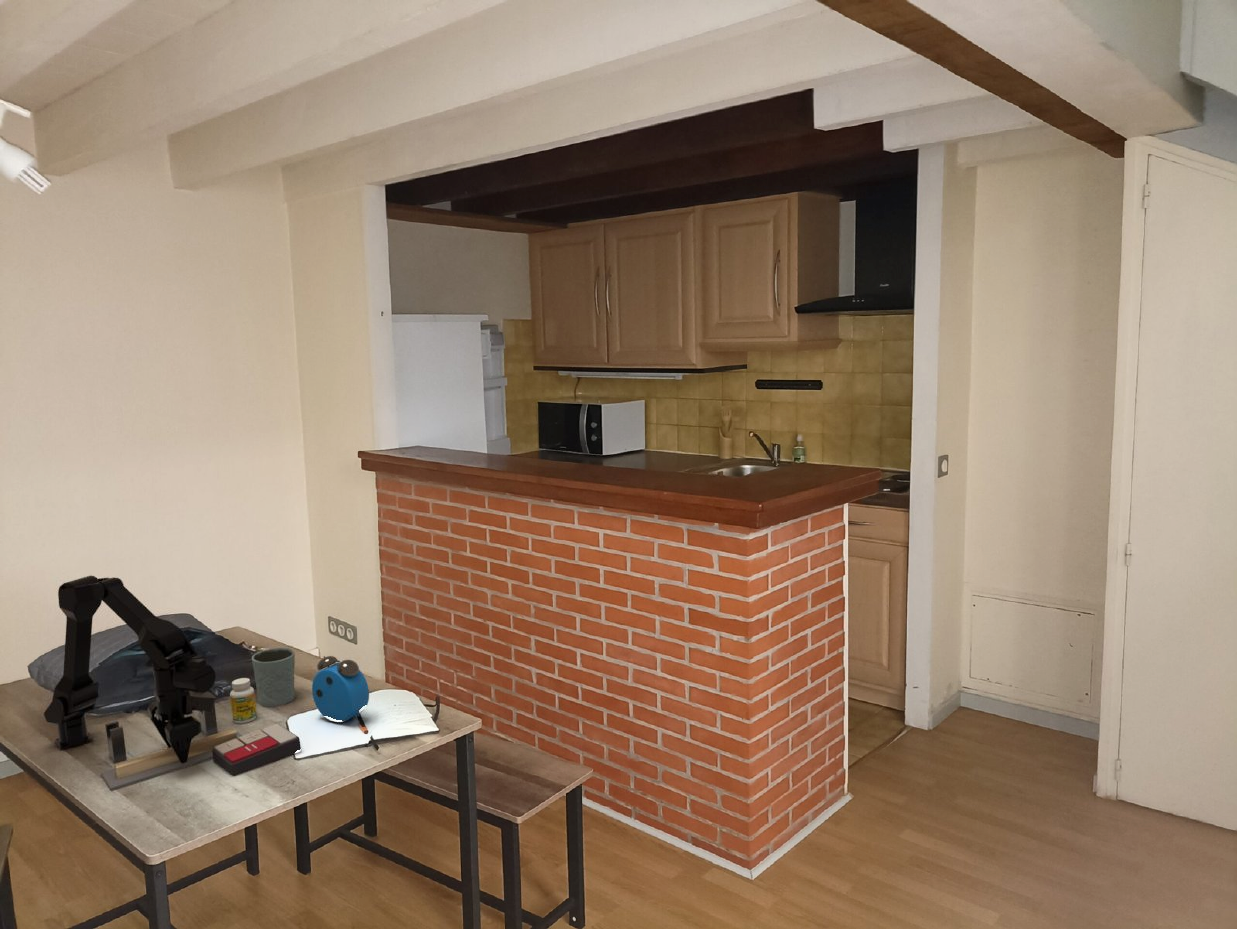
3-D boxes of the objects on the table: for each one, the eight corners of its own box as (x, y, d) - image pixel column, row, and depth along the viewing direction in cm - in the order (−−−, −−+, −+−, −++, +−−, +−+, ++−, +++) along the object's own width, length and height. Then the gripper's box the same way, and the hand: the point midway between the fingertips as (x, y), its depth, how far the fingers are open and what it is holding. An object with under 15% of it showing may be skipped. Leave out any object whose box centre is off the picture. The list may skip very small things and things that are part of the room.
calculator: (210, 746, 196) (278, 720, 206) (213, 764, 197) (280, 737, 207) (230, 762, 188) (299, 734, 198) (233, 781, 189) (302, 752, 199)
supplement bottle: (254, 712, 221) (250, 675, 220) (259, 720, 217) (255, 681, 215) (230, 718, 218) (226, 680, 217) (235, 726, 214) (231, 687, 212)
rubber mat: (101, 775, 191) (101, 772, 191) (238, 734, 209) (237, 731, 209) (111, 790, 184) (110, 788, 184) (251, 746, 202) (251, 744, 202)
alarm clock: (372, 719, 215) (367, 658, 213) (352, 729, 209) (347, 667, 207) (332, 709, 221) (327, 650, 219) (312, 719, 216) (307, 658, 214)
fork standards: (109, 756, 200) (105, 724, 199) (211, 726, 214) (207, 696, 213) (114, 764, 196) (110, 731, 195) (217, 733, 210) (214, 702, 209)
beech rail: (115, 775, 190) (114, 764, 190) (233, 739, 205) (232, 728, 205) (118, 779, 188) (116, 768, 188) (237, 742, 203) (236, 732, 203)
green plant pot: (269, 691, 234) (264, 647, 232) (306, 692, 232) (302, 647, 231) (248, 708, 224) (243, 661, 222) (286, 709, 223) (282, 662, 221)
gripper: (223, 688, 192) (230, 757, 195) (197, 665, 207) (204, 730, 209) (166, 703, 185) (174, 775, 188) (143, 679, 199) (151, 746, 202)
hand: (177, 755), depth 197 cm, fingers open, 9 cm apart
